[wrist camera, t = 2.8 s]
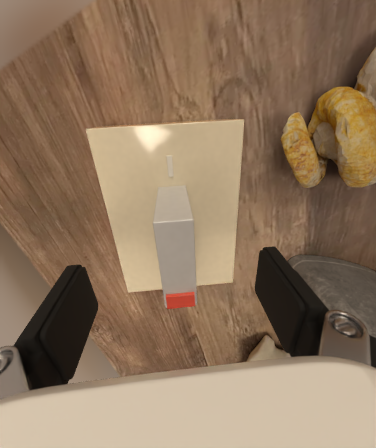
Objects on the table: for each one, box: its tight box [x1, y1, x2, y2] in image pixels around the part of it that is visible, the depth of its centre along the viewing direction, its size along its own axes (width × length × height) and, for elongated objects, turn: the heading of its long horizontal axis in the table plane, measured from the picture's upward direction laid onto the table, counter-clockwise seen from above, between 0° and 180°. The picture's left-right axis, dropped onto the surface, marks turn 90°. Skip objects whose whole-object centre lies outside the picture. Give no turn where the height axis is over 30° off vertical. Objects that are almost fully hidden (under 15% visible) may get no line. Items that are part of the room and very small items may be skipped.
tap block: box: [86, 119, 244, 292], centre depth 17 cm, size 14×10×3 cm
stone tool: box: [247, 335, 291, 362], centre depth 31 cm, size 8×4×15 cm
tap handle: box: [153, 185, 197, 309], centre depth 14 cm, size 6×2×6 cm, turn 3°
